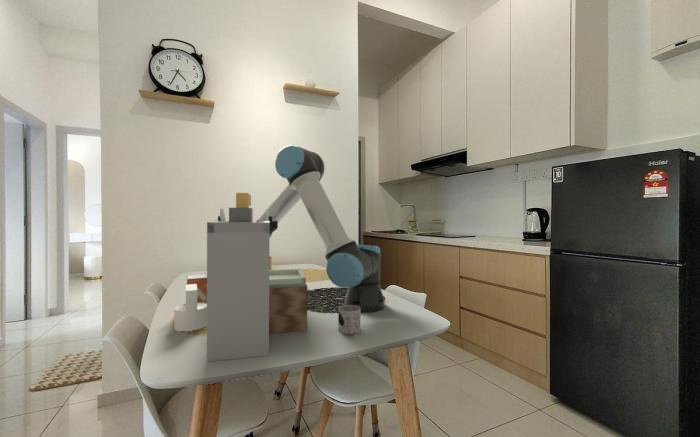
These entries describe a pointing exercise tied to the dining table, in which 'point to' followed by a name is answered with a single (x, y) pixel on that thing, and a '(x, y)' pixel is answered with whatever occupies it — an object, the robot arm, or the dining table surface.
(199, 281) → the small box
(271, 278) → the tray
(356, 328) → the mug
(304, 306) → the riser
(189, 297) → the base with upright slab
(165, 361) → the dining table surface
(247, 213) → the yellow grey boxy piece
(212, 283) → the grey tall block
